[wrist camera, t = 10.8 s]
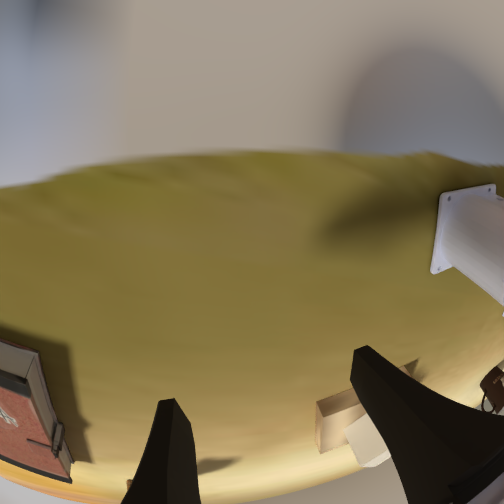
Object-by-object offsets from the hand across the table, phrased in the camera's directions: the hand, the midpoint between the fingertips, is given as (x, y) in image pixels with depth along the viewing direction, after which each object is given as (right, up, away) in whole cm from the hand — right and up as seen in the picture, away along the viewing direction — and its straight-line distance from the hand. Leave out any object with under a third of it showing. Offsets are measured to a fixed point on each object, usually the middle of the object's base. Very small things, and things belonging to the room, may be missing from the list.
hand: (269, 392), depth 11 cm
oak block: (+13, -15, +23) cm, 31 cm away
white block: (+14, -16, +21) cm, 30 cm away
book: (-31, -13, +12) cm, 35 cm away
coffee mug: (+55, -24, +38) cm, 71 cm away
